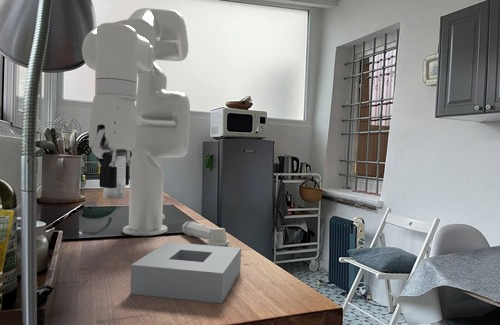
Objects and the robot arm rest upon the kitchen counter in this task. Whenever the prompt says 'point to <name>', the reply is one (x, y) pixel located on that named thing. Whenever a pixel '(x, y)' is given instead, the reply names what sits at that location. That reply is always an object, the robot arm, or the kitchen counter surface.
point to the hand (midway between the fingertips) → (114, 185)
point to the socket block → (187, 272)
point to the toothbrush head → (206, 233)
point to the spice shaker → (118, 178)
